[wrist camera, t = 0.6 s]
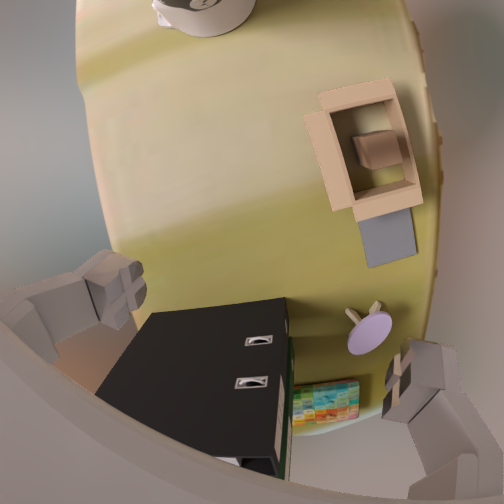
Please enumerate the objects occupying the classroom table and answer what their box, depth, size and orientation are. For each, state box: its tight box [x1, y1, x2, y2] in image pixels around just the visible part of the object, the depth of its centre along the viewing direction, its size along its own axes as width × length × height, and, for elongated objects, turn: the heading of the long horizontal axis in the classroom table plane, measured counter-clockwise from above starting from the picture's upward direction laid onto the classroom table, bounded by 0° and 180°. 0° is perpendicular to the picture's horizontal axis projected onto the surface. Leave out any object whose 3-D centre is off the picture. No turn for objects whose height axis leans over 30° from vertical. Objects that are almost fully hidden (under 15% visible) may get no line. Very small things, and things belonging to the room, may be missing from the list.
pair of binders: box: [95, 297, 294, 481], centre depth 44 cm, size 27×15×32 cm, turn 101°
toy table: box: [345, 301, 392, 355], centre depth 51 cm, size 10×9×6 cm
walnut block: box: [351, 130, 403, 170], centre depth 39 cm, size 4×4×9 cm
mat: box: [358, 207, 417, 268], centre depth 47 cm, size 9×9×1 cm
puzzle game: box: [292, 379, 360, 426], centre depth 61 cm, size 12×5×20 cm
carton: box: [303, 78, 423, 222], centre depth 41 cm, size 19×14×5 cm
